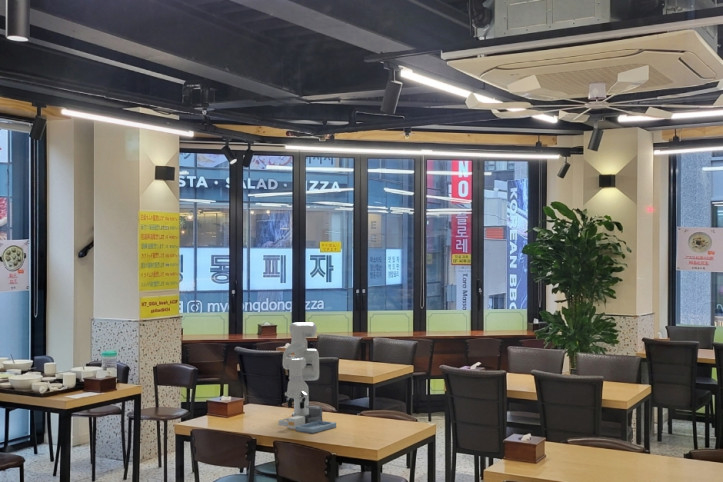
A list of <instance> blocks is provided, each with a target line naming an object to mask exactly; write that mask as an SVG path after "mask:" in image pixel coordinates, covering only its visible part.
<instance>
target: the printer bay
mask: <svg viewBox="0 0 723 482" xmlns="http://www.w3.org/2000/svg"><path fill="white" fill-rule="evenodd" d="M306 408H309V414H308V415H304V417H305V424H307V423H311V422H315V421H319V420H320V421H323V406H321V405H312V404H310V405H308V406H306Z"/></svg>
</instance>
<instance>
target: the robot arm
mask: <svg viewBox="0 0 723 482" xmlns="http://www.w3.org/2000/svg"><path fill="white" fill-rule="evenodd" d="M289 332H290V335H291V342H290V344H289V345H288V346H287V347H286V348H285V350H284V351H283V353H282V367H283V369H284V370H289V376H288V380H289V381H288V383H287V388H286V389H287V391H285V392H284V396H285V398H286V401H287V408H293V412H291V415H292V417H294V416H304V415H308V414H309V408H306V406H308V405H309V404H310V403H309V399H310V398H309V392H310V391H309V385H308V384H307V383H306V382H305V381H318V380H319V378H320V355H319V351H318V349H316V348H308V339H306V338H314V337H315V336H316V334H317V324H316V323H315V322H307V321H306V322H303V321H302V322H292V323H290V325H289ZM292 354H294V356H291V355H292ZM307 364H310V365H307ZM292 399H293V400H292ZM293 404H294V405H293Z"/></svg>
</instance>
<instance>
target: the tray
mask: <svg viewBox="0 0 723 482" xmlns="http://www.w3.org/2000/svg"><path fill="white" fill-rule="evenodd" d="M334 428H337V423H336V422H334V421H333V422H332V421H326V420H322V421H320V420H319V421H315V422H311V423H308V422H307V423H305V424H303V425H300V426H296V429H295V432H299V433H300V432H301V433H306V434H315V433H320V432H324V431H327V430H331V429H334Z"/></svg>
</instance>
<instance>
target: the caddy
mask: <svg viewBox="0 0 723 482" xmlns="http://www.w3.org/2000/svg"><path fill="white" fill-rule="evenodd" d="M303 424H306V423H305V417H304V416H291V417H287V418H283V419H280V420H278V426H283V427H287V429H292V430H296V426H300V425H303Z"/></svg>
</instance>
